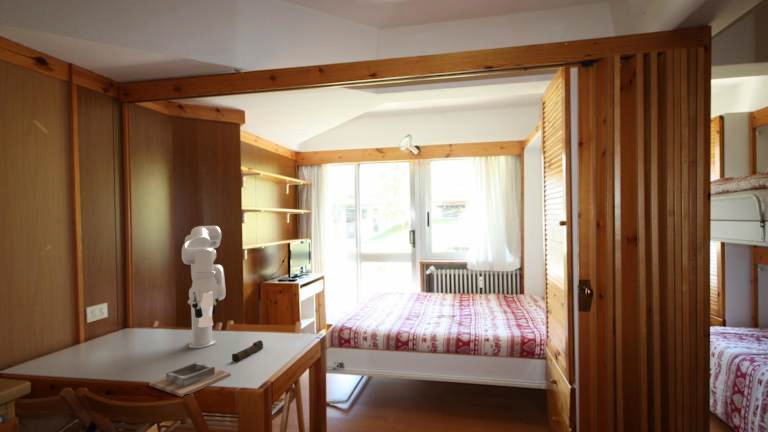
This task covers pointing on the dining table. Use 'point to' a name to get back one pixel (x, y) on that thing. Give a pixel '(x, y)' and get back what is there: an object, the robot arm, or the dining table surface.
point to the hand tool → (247, 351)
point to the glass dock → (189, 379)
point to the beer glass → (206, 310)
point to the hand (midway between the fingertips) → (205, 315)
